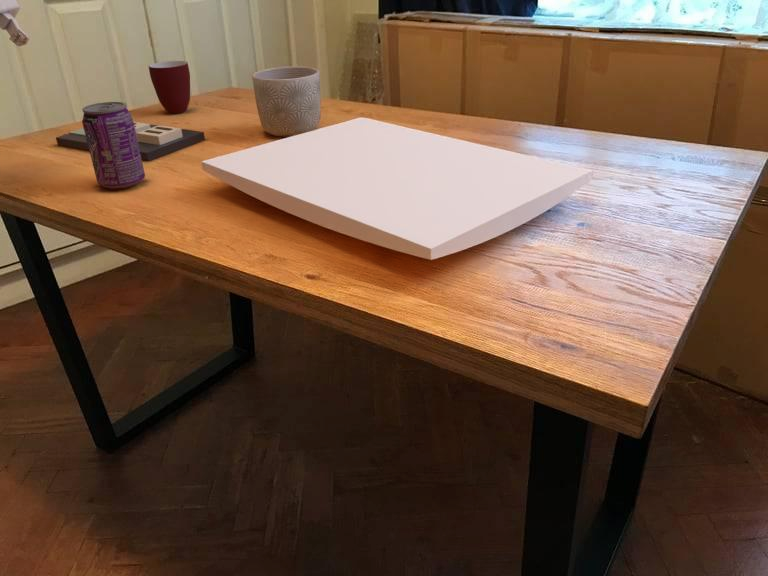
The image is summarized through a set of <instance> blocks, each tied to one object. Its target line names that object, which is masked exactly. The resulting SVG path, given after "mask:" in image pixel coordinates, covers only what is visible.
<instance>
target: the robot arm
mask: <svg viewBox="0 0 768 576" xmlns="http://www.w3.org/2000/svg"><path fill="white" fill-rule="evenodd" d="M19 11H20V4H19V2H18V0H0V29H1V30H3V31H6V32H7V33H8V35H9V36H10V37H9V41H11V42H12V43H14V44H15V45H16V46H17V47H22V46H25V45H27V44H28V42H29V40H30V36H29V35H28V33H26V32H25V31H24V30H23V29H21V27H20V25H19V23H18V21H17V19H16V16H17V15H18V13H19Z"/></svg>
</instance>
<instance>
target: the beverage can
mask: <svg viewBox="0 0 768 576" xmlns="http://www.w3.org/2000/svg"><path fill="white" fill-rule="evenodd" d="M127 107H128V105H127V103H126V102H123V101H105V102H104V101H103V102H97V103H93V104H88V105H86V106H84V107H82V112H83V116H82V120H81V124H82V128H84V132H85V136H86V139H87V143H88V147H89V151H88V152H89V155H90V159H91V163H92V167H93V171H94V174H95V178H96V183H97V185H99V186H101V187H105V188H107V189H111V190H123V189H126V188H131V187H134V186H136V185H138V184H139V183H140V182H141V181H143V180H144V179H145V178H146V173H145V169H144V163H143V160H142V159H141V154H140V150H139V145H138V141H137V136H136V131H135V127H134V122H135V121H134V118H133V114H132V113H131V112H130V110H129V109H128V108H127Z"/></svg>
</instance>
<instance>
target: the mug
mask: <svg viewBox="0 0 768 576" xmlns="http://www.w3.org/2000/svg"><path fill="white" fill-rule="evenodd" d="M148 71H149V77H150V80H151V83H152V86H153V89H154V92H155V94H156V96H157V99H158V101H159V103H160V105H161V106H162V107H163V109H164V111H165V112H166V113H168V114H170V115H179V114H183V113H186V112H187V111H188V108H189V104H190V100H191V72H190V68H189V63H188V61H185V60H170V61H169V60H167V61H159V62H154V63H151V64H149V65H148Z"/></svg>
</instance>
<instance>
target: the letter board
mask: <svg viewBox="0 0 768 576" xmlns="http://www.w3.org/2000/svg"><path fill="white" fill-rule="evenodd" d="M133 122H134V127H135V131H136V136H137V141H138V145H139V150H140V154H141V159H142V161H146V162H150V161H153V160H156V159H158V158H160V157H163V156H166V155H169V154H171V153H174V152H177V151H179V150H182V149H185V148H187V147H189V146H192V145H196V144H197V143H200V142H203V141H206V137H205V132H204V131H201V130H194V129H186V128H181V127H174V126H166V125H157V124H151V123H146V122H140V121H139V122H138V121H133ZM55 140H56V145H57V146H59V147H66V148H71V149H76V150H82V151H87V152H90V151H89V147H88V143H87V139H86V136H85V132H84V128H83V127H81V128H79V129H76V130H72V131H69V132H68V133H66V134H63V135H59V136H56V137H55Z"/></svg>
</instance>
